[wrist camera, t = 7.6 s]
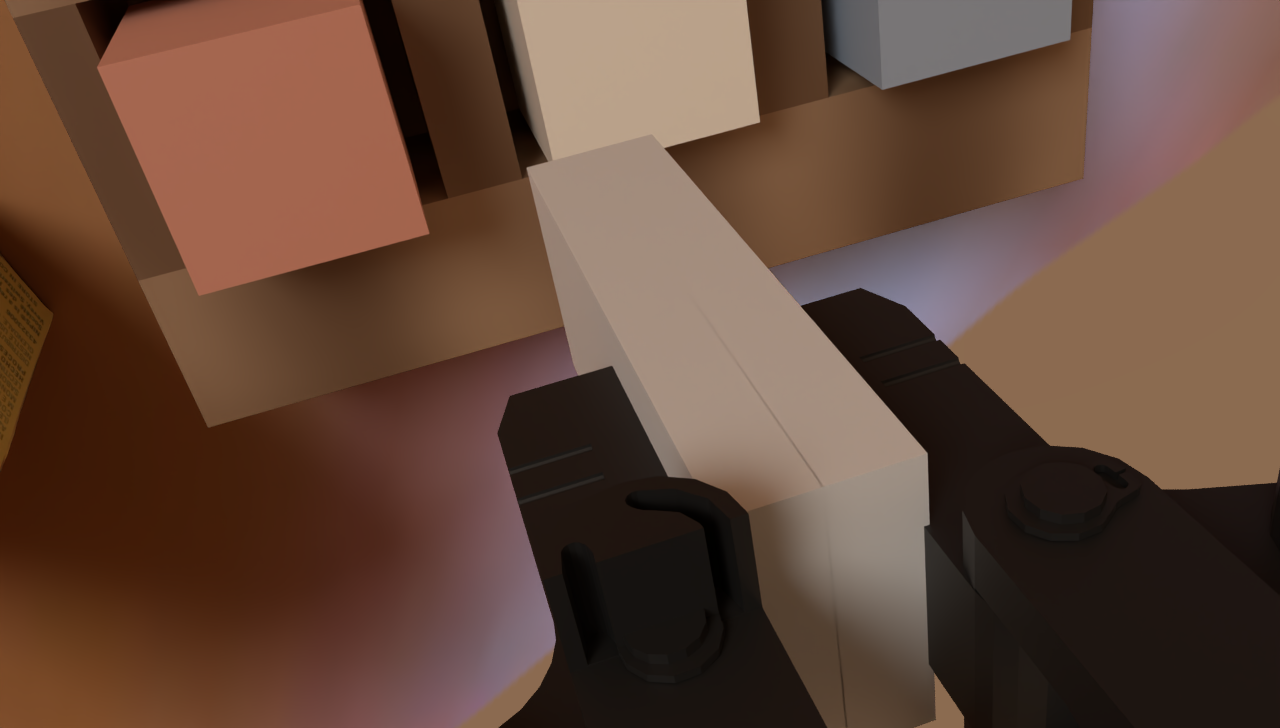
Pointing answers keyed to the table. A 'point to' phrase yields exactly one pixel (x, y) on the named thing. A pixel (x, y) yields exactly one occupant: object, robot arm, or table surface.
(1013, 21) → the slate key
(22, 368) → the candy box
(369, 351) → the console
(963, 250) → the table surface
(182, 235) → the brick key
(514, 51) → the ivory key
